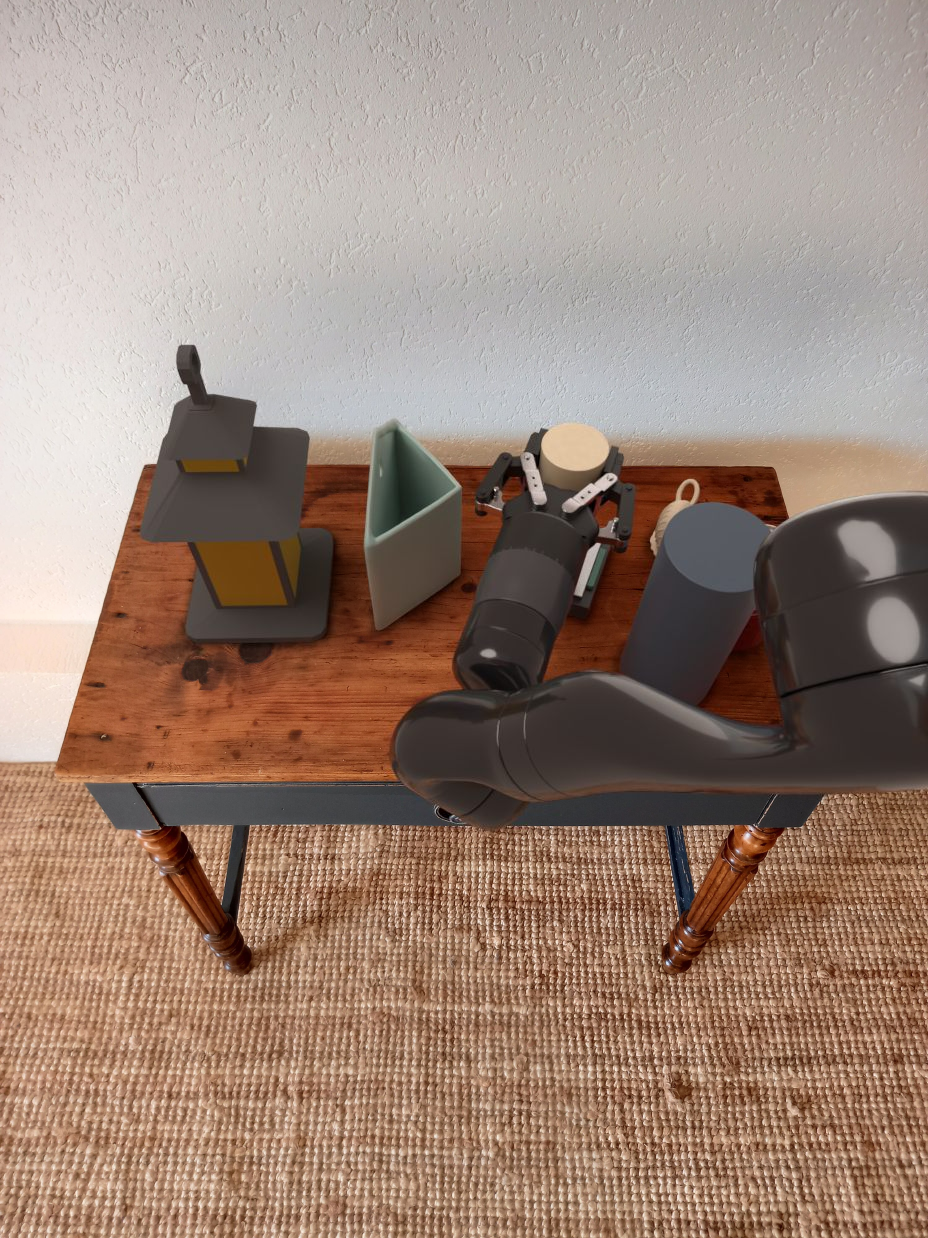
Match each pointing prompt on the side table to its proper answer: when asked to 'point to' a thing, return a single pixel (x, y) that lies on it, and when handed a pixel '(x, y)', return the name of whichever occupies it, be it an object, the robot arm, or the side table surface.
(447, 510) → the planter
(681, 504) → the decorative ornament
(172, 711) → the side table surface
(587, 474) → the canister
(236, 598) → the lantern
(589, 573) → the scale
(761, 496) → the side table surface
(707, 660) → the stand
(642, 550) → the side table surface
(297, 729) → the side table surface
